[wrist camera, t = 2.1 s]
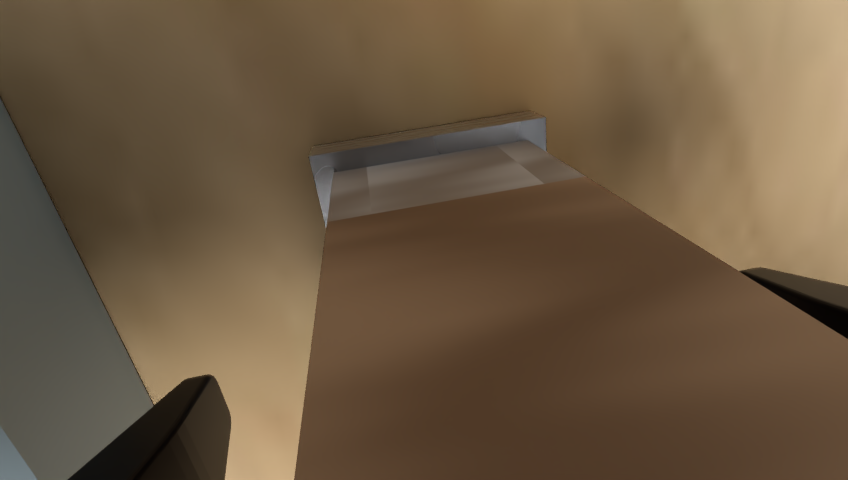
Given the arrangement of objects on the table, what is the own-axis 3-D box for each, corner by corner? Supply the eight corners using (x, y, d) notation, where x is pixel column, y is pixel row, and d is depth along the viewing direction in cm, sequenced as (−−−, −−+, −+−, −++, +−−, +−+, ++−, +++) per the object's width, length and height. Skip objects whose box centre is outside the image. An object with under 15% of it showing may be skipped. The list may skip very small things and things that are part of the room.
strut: (527, 140, 11) (1408, 686, 2) (533, 303, 13) (979, 971, 4) (333, 172, 11) (223, 1040, 1) (369, 335, 12) (418, 1156, 3)
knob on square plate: (530, 110, 12) (595, 139, 9) (537, 296, 14) (590, 371, 11) (312, 146, 11) (296, 190, 8) (355, 330, 13) (356, 419, 10)
